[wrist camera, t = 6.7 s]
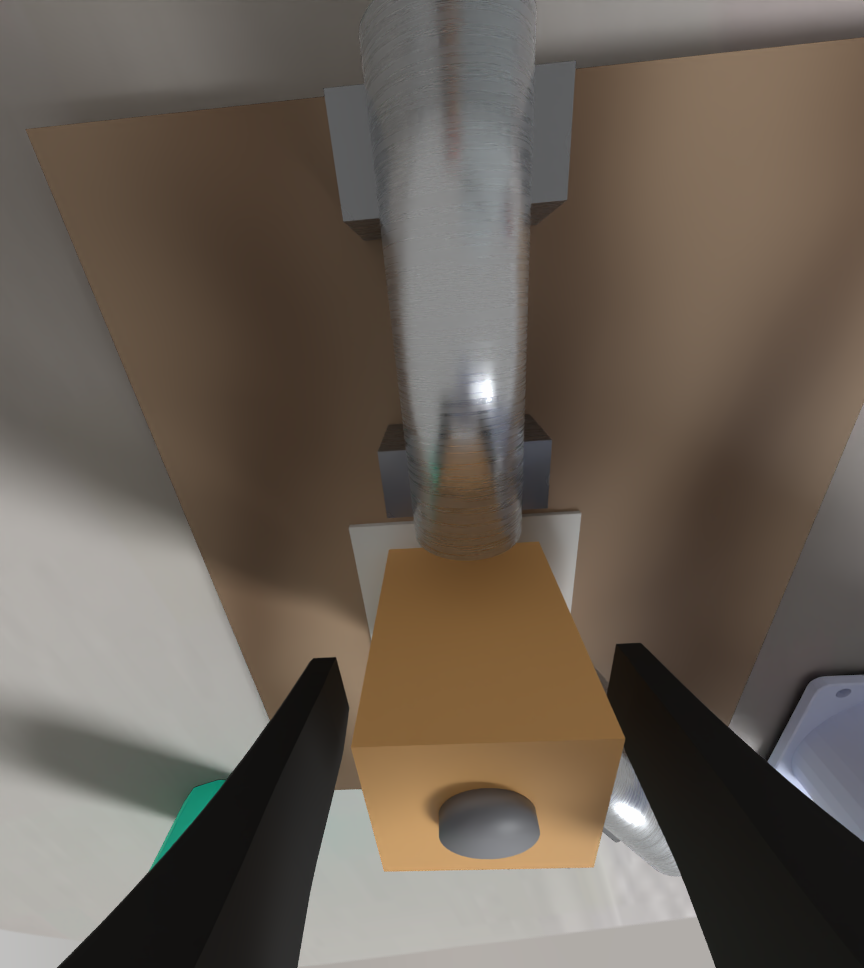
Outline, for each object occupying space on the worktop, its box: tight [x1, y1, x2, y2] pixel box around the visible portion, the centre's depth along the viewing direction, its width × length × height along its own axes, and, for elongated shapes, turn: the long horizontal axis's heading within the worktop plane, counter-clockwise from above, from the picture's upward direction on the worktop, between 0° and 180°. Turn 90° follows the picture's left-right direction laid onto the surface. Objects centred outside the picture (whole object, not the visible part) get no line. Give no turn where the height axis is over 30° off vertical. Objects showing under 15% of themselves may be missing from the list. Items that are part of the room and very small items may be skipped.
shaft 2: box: [594, 667, 681, 876], centre depth 13 cm, size 8×4×3 cm, turn 39°
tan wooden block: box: [351, 542, 625, 872], centre depth 9 cm, size 4×4×6 cm
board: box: [26, 37, 864, 790], centre depth 12 cm, size 18×23×1 cm
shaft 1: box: [323, 0, 576, 561], centre depth 7 cm, size 8×4×3 cm, turn 4°
